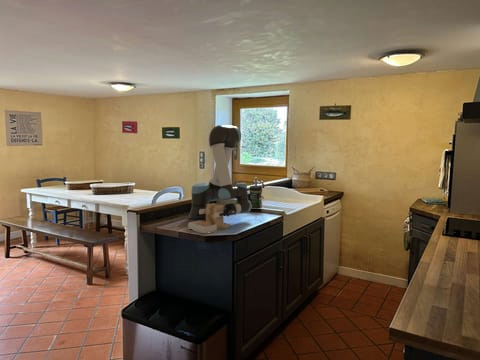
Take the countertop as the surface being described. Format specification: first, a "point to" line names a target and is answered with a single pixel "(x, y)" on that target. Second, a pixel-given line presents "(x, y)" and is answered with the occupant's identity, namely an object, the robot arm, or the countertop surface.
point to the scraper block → (210, 214)
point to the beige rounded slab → (202, 227)
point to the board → (223, 226)
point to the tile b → (207, 224)
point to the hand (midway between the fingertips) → (206, 213)
